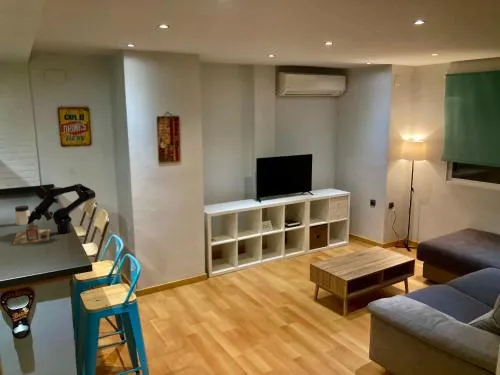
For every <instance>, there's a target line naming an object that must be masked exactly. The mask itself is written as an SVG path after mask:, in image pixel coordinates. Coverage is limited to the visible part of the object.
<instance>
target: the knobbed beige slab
mask: <svg viewBox="0 0 500 375" xmlns="http://www.w3.org/2000/svg"><path fill="white" fill-rule="evenodd" d="M29 217H30V216H27V218H28V220H29ZM34 225H35V223H34V221H33V222H31V223H30V224H27V226H34ZM39 230H40V228H38V234H39ZM28 234H29V239H34V238H36V230H33V231H28ZM26 239H27V237H26Z"/></svg>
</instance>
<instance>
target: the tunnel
mask: <svg viewBox="0 0 500 375" xmlns="http://www.w3.org/2000/svg"><path fill="white" fill-rule="evenodd" d="M38 229H39V224H34V226H28V225H27V226H26V228H25V232H26V236H27V241H29V234H28V231H33V230H36V238H37V240H39V237H38Z"/></svg>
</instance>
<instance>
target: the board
mask: <svg viewBox="0 0 500 375" xmlns="http://www.w3.org/2000/svg"><path fill="white" fill-rule="evenodd" d="M50 233H51V229H50V228H45V229H39V234H38V237H39V240H37V238H34V239H29V241H27V239H26V237H27V236H26V231H20V232H16V235H15V238H14V240H13V246H16V245H24V244H31V243H38V242H45V241H50Z"/></svg>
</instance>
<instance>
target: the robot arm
mask: <svg viewBox="0 0 500 375" xmlns="http://www.w3.org/2000/svg"><path fill="white" fill-rule="evenodd" d="M72 192H75V193H76V194H77V196H78V197H77V199H76V200H74V201H73V202H71V203H70V204H69V205H67V206H66V207H65V206H64V207H61V208H58V209H56V211H54V212H53V211H50V210H49V209H50V208H51V206H52V205H54V203H55V204H59V199H58V197H59V196H62V195H64V194H67V193H72ZM33 194H34V195H35V196H36V197H38V199H40V200H42V201H41V202H40V203H39V204H38V205H37V206H35V207H34V209H33V210H32V211H31V212H30V217H29V220H28V223H27V224H26V225H28V224H30V223H31V222H34V221H35V220H37V221H40V220H41V218H42V216H44V217H45V220H46V222H48V221H50V220H53V221H54V223H55V225H56V227H57V229H56V230H57V232H56V234H58V235H59V234H61V235H64V234H65V235H66V234H67V235H68V234H69V233H71V232H72V229H71V224H70V223H71V222H72V217H71V216H70V214H71V213H72V212H74V211H75V210H76V209H77V208H79V207H81V206H82V205H83V204H84V203H87V202H88V201H91V200H93V199H95V198H96V192H95V191H94V190H93V189H91V188H90V187H88V186H85V185H84V184H82V183H76V184H73V185H68V186H65V187H62V186H61V187H59V186H56V187H52V188H49V189H46V188H45V187H44V186H42V185H40V186H38V187H37V188H36V189H35V190H34V191H33Z"/></svg>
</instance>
